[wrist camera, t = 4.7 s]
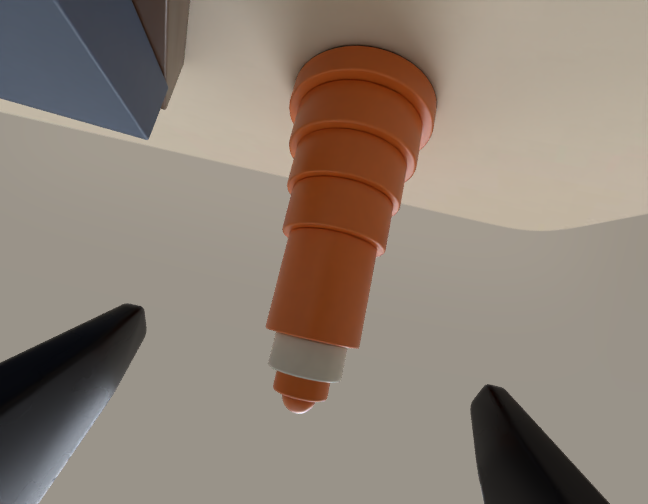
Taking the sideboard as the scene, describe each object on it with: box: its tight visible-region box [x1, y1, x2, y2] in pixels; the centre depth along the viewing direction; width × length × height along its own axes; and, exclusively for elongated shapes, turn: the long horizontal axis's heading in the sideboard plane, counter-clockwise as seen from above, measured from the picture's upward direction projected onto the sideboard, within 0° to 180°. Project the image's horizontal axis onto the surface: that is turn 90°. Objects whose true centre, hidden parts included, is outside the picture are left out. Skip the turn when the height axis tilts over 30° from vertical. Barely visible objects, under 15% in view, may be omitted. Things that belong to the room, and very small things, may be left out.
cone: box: [266, 46, 437, 413], centre depth 12 cm, size 6×6×12 cm
